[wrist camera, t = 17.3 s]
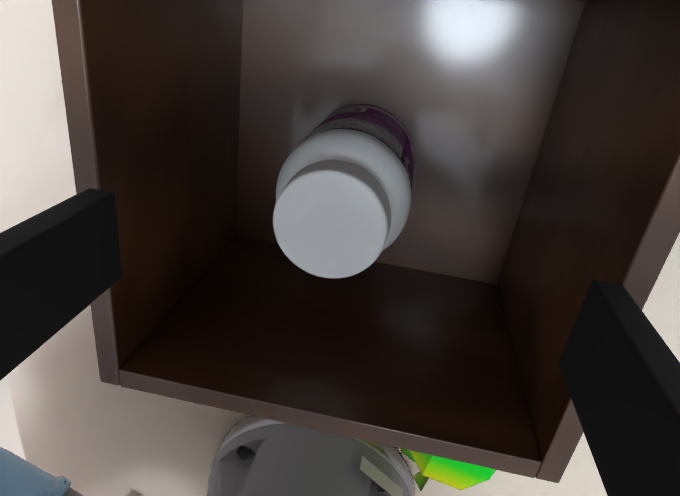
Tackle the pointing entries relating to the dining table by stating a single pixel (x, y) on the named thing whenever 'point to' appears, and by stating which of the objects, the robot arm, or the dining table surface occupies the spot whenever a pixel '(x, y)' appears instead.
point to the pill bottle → (345, 192)
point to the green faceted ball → (447, 471)
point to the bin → (424, 217)
